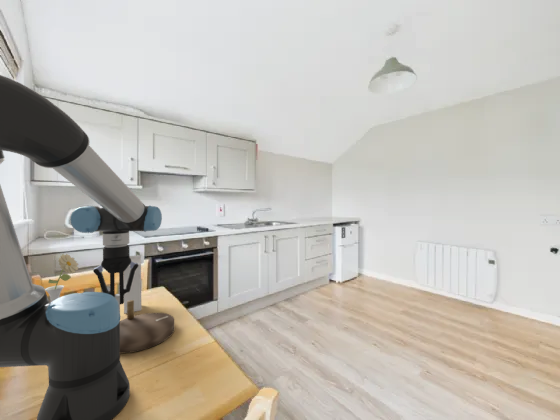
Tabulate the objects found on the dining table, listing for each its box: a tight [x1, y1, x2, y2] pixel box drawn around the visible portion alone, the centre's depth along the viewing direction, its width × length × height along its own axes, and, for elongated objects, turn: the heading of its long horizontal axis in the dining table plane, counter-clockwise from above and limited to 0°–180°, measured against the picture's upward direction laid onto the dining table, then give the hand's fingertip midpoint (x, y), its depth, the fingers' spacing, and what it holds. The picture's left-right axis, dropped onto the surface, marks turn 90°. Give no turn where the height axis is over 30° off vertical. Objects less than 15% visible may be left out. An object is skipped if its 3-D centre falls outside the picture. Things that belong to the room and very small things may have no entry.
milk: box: [123, 254, 142, 314], centre depth 99 cm, size 6×6×22 cm
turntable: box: [120, 300, 175, 354], centre depth 80 cm, size 20×20×9 cm
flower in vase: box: [44, 253, 79, 303], centre depth 86 cm, size 13×11×25 cm
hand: (117, 314), depth 83 cm, fingers closed
